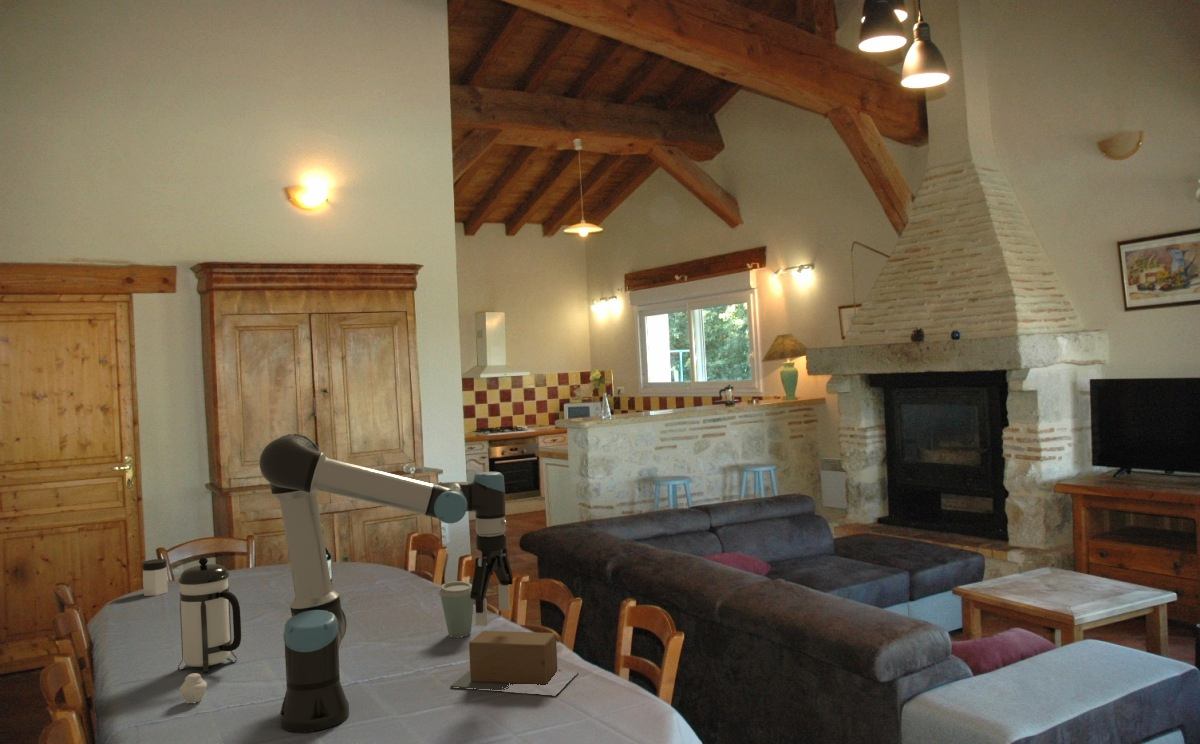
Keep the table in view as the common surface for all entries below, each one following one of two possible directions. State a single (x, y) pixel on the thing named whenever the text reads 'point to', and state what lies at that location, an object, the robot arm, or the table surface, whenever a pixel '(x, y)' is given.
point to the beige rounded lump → (193, 688)
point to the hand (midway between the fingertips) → (493, 617)
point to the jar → (154, 577)
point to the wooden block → (513, 657)
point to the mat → (478, 684)
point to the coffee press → (207, 616)
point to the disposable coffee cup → (457, 607)
